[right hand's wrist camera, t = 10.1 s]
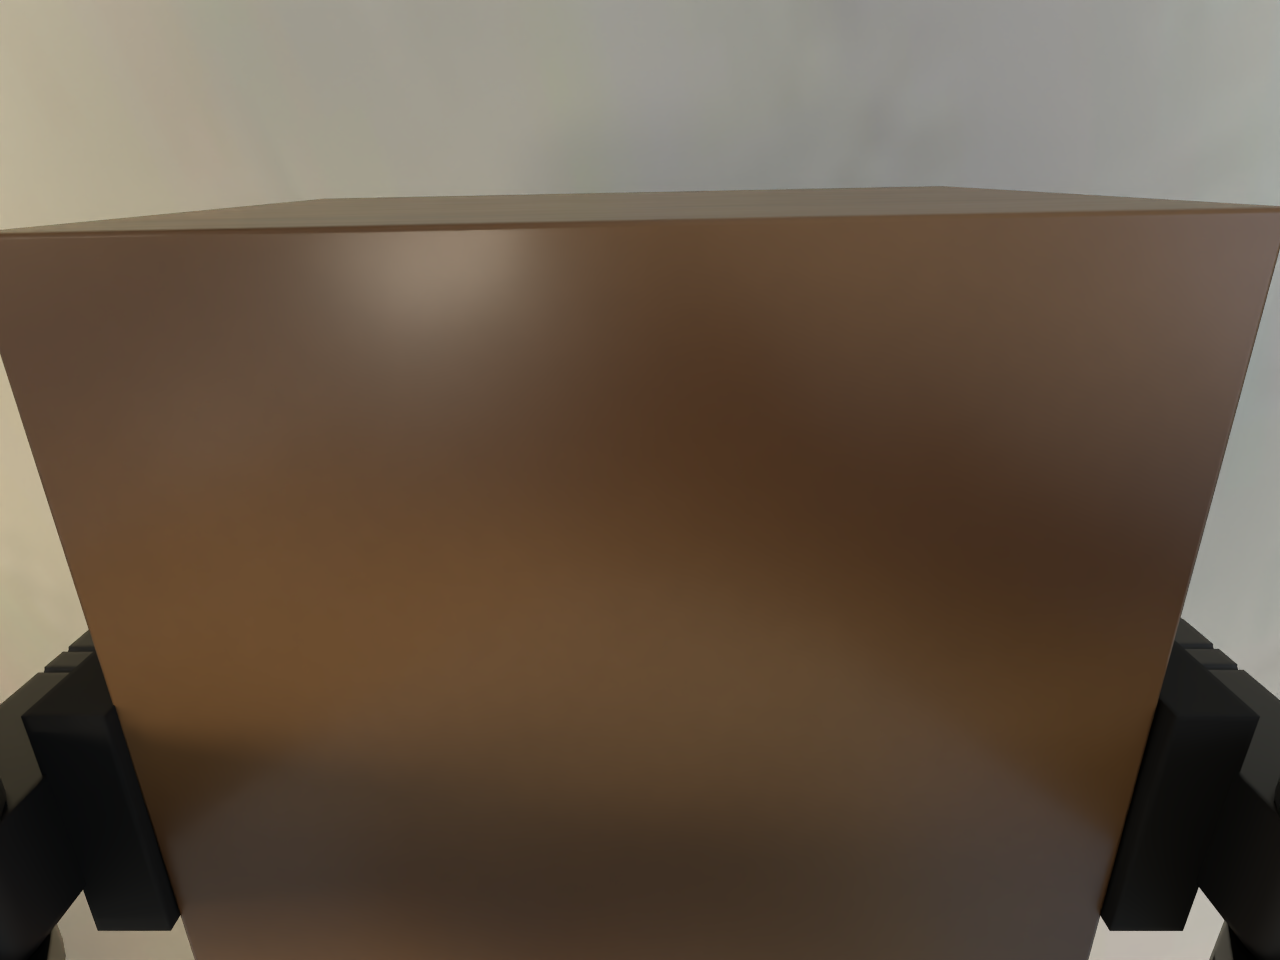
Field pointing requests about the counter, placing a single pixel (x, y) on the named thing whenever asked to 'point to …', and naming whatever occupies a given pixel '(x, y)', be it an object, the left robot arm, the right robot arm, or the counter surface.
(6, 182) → the counter surface
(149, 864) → the right robot arm
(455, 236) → the thick board
